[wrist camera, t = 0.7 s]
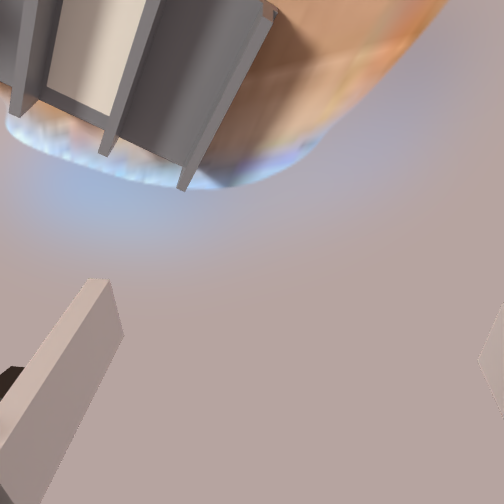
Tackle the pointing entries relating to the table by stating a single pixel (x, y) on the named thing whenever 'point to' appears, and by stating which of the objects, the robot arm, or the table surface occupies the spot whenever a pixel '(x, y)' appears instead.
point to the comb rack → (134, 66)
